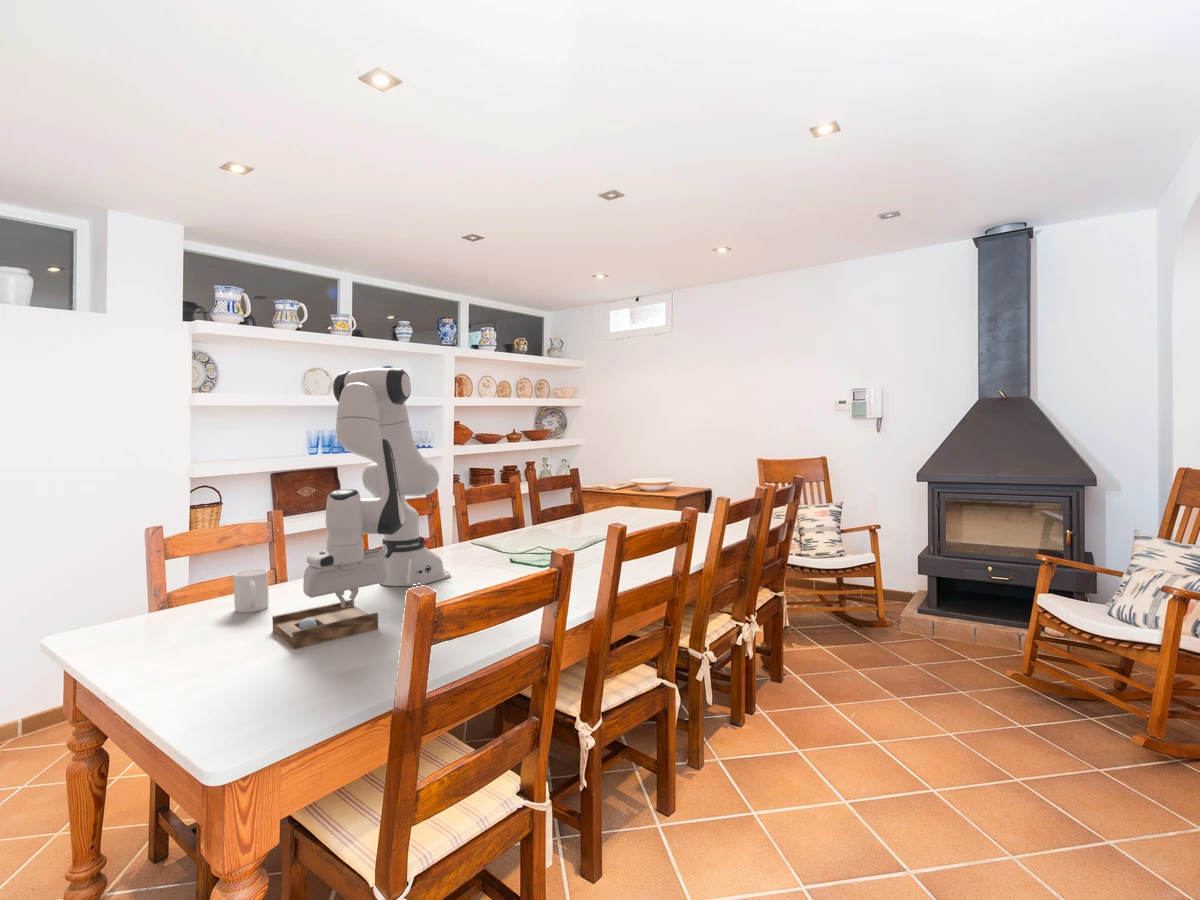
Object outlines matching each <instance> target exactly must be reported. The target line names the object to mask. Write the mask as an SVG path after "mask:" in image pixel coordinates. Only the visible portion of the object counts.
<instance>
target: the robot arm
mask: <svg viewBox="0 0 1200 900" xmlns="http://www.w3.org/2000/svg"><path fill="white" fill-rule="evenodd" d="M411 385H412V384H411V379H410V376H409V375H408V372H406V371H405V370H404V369H402V368H398V367H390V368H386V367H370V368H367V369H366V368H365V369H359V370H353V371H351V370H347V371H344V372H341V373H338V375H336V377H335V379H334V381H333V383H332V392H333V395H334V398H335V399H336V401H337V402H338V404H337V412H336V421H335V423H336V424H335V430H336V431H335V433H336V439H337V441H338V443H339V444H340V446H342V448H343V449H345V450H346V451H348V452H350V453H352V454H354V455H356V456H360V457H362V458H365V459H368V460H370V461H371V463H369V464H368V465H366V467H365V468H364V469H363V472H362V477H361V478H362V484H363V486H364V488H365V489H366V490H367V491H368V492H369V493H370V494H371V495H372V496H373V497H367V498H366V497H364V498H363V497H361V495H360V492H359V491H358V490H357V489H353V488H342V489H341V488H340V489H337V490H333V491H331V492H330V493H329V494H327V498H326V506H325V529H326V531H327V539H326V547H324V548H322V549H320V550H318V551H316V552H313V553H311V554H309V555H308V556H307V557H306V563H307V564H308V566H307V567H306V568H305V570H304V574H303V575H304V576H303V582H302V583H303V585H302V586H303V593H304V595H306V596H307V597H309V598H312V599H313V598H317V597H322V596H326V595H331V594H335V596H336V597H337V598H338V600H339V601H340V605H341V607H342V608H345V607H350V606H355V600H356V598H357V595H358V594H359V588H360V589H361V588H363V587H370V586H374V585H377V584H380V585H383V586H389V587H419V586H421V585H426V584H429V583H433V582H437V581H440V580H444V579H448V578H450V577H451V572H450V571H449V570H446V569H445V568H444V564H443V559H441V557H440V556H439V555H437V554H436V553H434V552H433V551H431V550H430V549H429V548H428V547H425V545H429V544H431V542H432V539H431V538H429V537H423V536H420V515H419V512H418V511H417V510H416V508H414V507H413V506H411V505H410V504H409V503H408V501H407V499H406V497H407V496H409V497H410V496H411V497H420V496H425V495H426V496H427V495H430V494H433V493H434V492H435V491H436V489H437V488H438V485H439V481H440V475H439V471H438V470H437V468H436V466H434V465H433V464H432V463H430V462H429V461H428V460H427V459H425V457H424V456H423V455H422V453H421V452H420V451H419V450H418V449H419V448H418V447H417V445H416V444H415V441H414V438H413V434H412V429H411V425H410V420H409V419H410V418H409V414H408V410H407V406H406V402H407V400H408V399H409V398H410V396H411V391H412V387H411ZM370 534H371V535H373V534H375V535H377V534H378V535H383V538H382V543H381V544H382V546H381V548H380V547H377V548H371V549H365V542H364V539H365V538H364V536H363V535H370ZM418 583H420V584H418ZM413 584H416V585H413ZM409 585H411V586H409ZM418 585H419V586H418ZM345 591H350V595H349V597H348V598H344V596H345Z"/></svg>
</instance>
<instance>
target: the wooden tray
mask: <svg viewBox="0 0 1200 900" xmlns="http://www.w3.org/2000/svg"><path fill="white" fill-rule="evenodd" d="M271 616H272V632H273V633H274V634H275V635H276V636H278V637H279V638H280V639H281V640H282V641H284V642H285V643H286V644H287V645H288V646H290V647H291V648H292V649H293V650H298V649H301V648H305V647H309V646H313V645H317V644H321V643H326V642H329V641H333V640H337V639H342V638H344V637H345V638H346V637H350V636H354V635H358V634H362V633H365V632H366V633H367V632H371V631H374V630H378V629H379V613H378V612H372V613H368V612H366V611H364V610H362V609H361V608H359V607H357V606H356V605H354V606H350V607H345V608H342V607H341V605H340V602H334V603H330V604H323V605H321V606H316V607H310V608H306V609H300V610H297V611H295V610H294V611H291V612H287V613H281V614H277V615H271ZM306 618H312V619H314V620H315V621H316V623H317V626H315V627H310V628H306V629H299V624H300V623H301V621H302V620H304V619H306Z"/></svg>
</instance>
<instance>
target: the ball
mask: <svg viewBox="0 0 1200 900" xmlns="http://www.w3.org/2000/svg"><path fill="white" fill-rule="evenodd" d="M315 626H317V623H316V621H315V620H314V619H312V618H306V619H304V620H302V621H301V623H300V624H299V629H306V628H310V627H315Z"/></svg>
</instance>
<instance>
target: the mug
mask: <svg viewBox="0 0 1200 900" xmlns="http://www.w3.org/2000/svg"><path fill="white" fill-rule="evenodd" d="M233 594H234V595H233V596H234V597H233V599H234V602H233V603H234V610H235V611H236V612H237V613H239V614H240V613H241V614H250V612H251V613H255V612H260V611H263V610H265V609H267V608H268V607H269V602H270V601H269V598H270V597H269V571H268V569H265V568H249V569H244V570H243V569H242V570H240V571H237V572H234V573H233Z"/></svg>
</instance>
